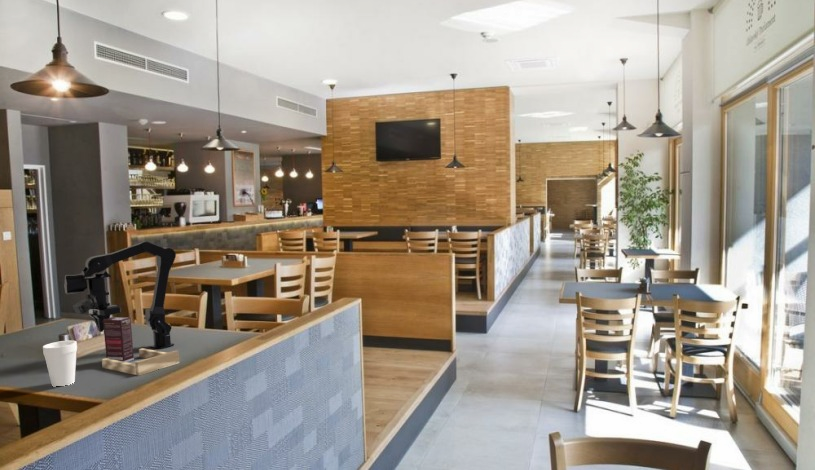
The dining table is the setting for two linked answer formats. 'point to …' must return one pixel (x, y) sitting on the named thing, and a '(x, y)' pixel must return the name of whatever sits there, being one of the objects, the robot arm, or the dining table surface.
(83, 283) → the robot arm
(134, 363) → the felt pad
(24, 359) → the dining table surface
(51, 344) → the foam cup
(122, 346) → the supplement box
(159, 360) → the frame
